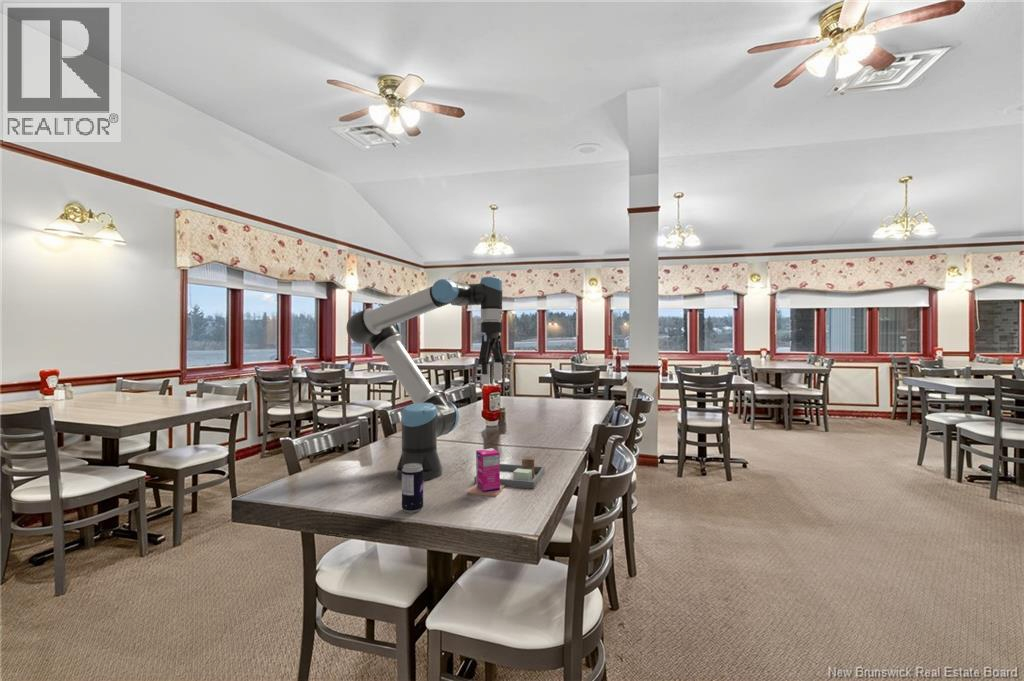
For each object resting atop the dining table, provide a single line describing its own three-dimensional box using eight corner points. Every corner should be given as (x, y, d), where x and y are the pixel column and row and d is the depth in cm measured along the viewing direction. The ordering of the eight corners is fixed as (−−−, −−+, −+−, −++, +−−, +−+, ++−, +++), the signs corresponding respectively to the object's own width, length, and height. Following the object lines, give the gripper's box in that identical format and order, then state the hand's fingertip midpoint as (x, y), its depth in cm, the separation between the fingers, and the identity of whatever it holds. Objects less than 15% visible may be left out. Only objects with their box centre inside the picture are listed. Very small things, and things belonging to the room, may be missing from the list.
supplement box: (475, 487, 143) (475, 449, 143) (493, 484, 146) (493, 447, 146) (482, 492, 138) (482, 454, 138) (500, 490, 140) (500, 452, 140)
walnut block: (521, 477, 155) (521, 459, 155) (522, 473, 159) (522, 456, 159) (534, 477, 155) (534, 459, 155) (534, 474, 159) (534, 456, 159)
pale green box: (513, 484, 148) (513, 471, 148) (517, 480, 152) (517, 468, 152) (528, 485, 147) (528, 473, 147) (532, 482, 150) (532, 469, 150)
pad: (467, 493, 139) (467, 491, 139) (477, 484, 147) (477, 482, 147) (496, 496, 136) (496, 494, 136) (504, 486, 145) (504, 485, 145)
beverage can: (423, 512, 124) (423, 467, 124) (401, 514, 123) (401, 468, 123) (423, 505, 129) (423, 462, 129) (402, 506, 128) (402, 463, 128)
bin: (474, 483, 148) (474, 477, 148) (490, 468, 165) (490, 463, 165) (534, 488, 144) (534, 482, 144) (544, 472, 160) (544, 466, 160)
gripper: (490, 320, 151) (490, 386, 151) (511, 322, 175) (512, 379, 175) (468, 320, 153) (468, 385, 153) (492, 322, 177) (492, 378, 177)
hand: (491, 382), depth 164 cm, fingers open, 13 cm apart
